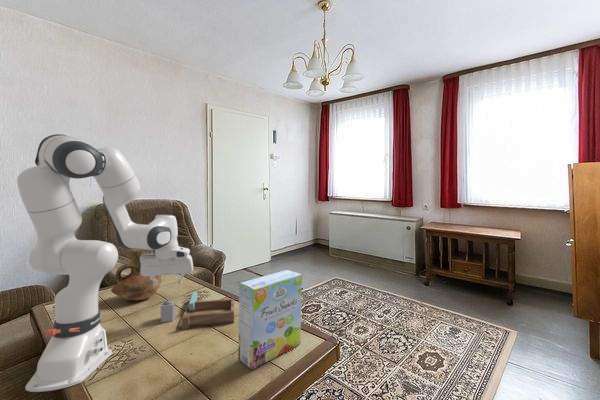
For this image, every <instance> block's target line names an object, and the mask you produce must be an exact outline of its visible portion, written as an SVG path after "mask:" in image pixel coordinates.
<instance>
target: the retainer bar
mask: <svg viewBox="0 0 600 400" xmlns="http://www.w3.org/2000/svg"><path fill="white" fill-rule="evenodd" d="M190 298H191V300H190V299H189V300H190V303H189V311H191V310H193V309H194V303H195V302H196V301H197V299H198V291H193V293H192V296H191V297H190Z"/></svg>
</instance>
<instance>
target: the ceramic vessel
mask: <svg viewBox="0 0 600 400" xmlns="http://www.w3.org/2000/svg"><path fill="white" fill-rule="evenodd" d="M144 253H146V251H145V250H143V249H130V262H129V263H125V264H122V265H121V266H119V267H118V268H117V269H116V271H115V280H116V283H117V284H115V286H113V287H112V288H111V289H110V291H111V293H112V294H113V295H115V296H118V297H120V298H121V299H124V300H129V301H135V302H137V301H138V302H140V301H143V300H145V299H149V298H150V297H151V296H153V295H155V293H156V292H157V291H158V290H159V288H160V287H161V283H162V275H155V277H154V278H155V279H156V280H158V286H154V285H153V281H152V280H151V279H150V276H142V275H141V274H140V269H141V263H140V256H141V255H143V254H144ZM143 256H144V255H143ZM128 269H129V270H130V273H128V274H127V275H125V276H122V272H123V271H125V270H128Z"/></svg>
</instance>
